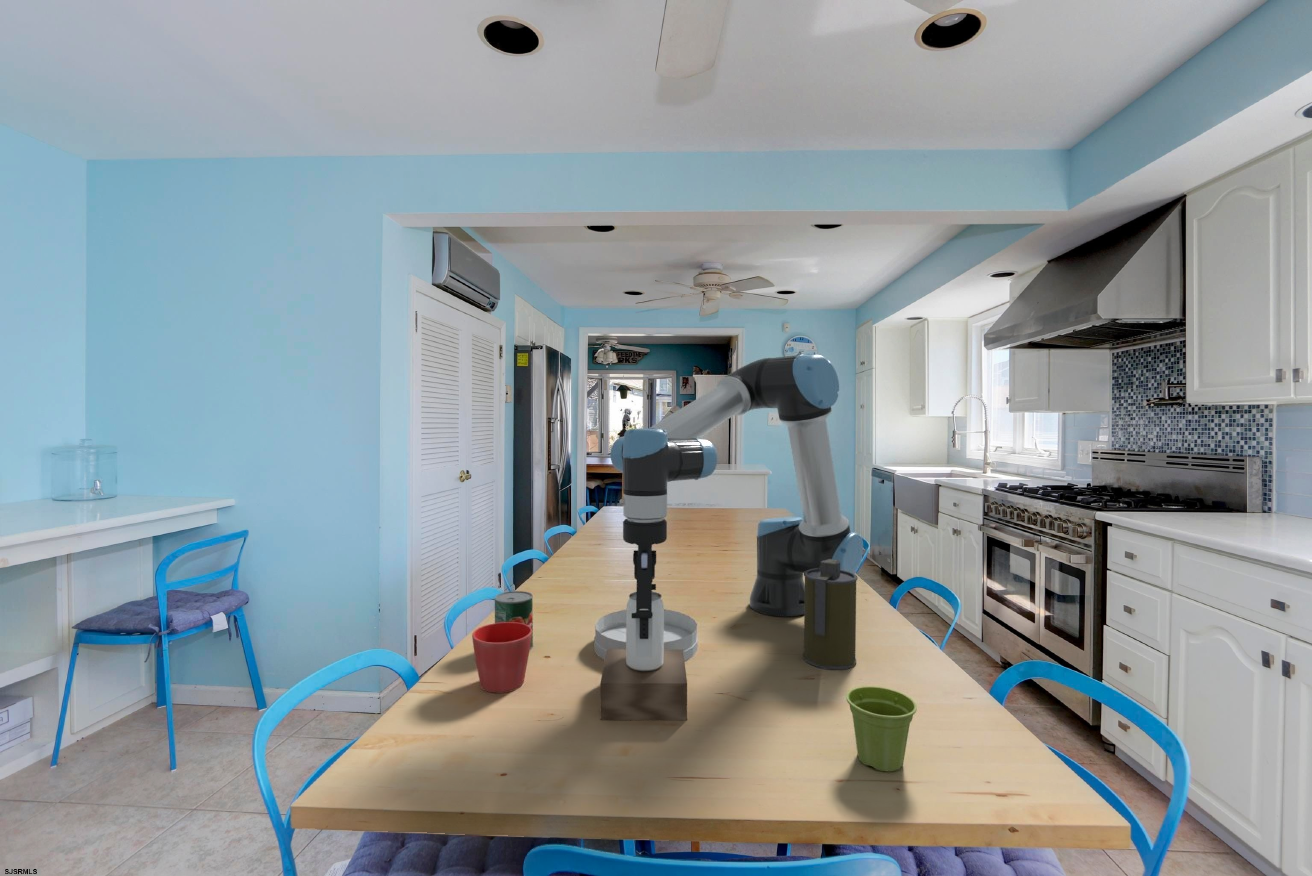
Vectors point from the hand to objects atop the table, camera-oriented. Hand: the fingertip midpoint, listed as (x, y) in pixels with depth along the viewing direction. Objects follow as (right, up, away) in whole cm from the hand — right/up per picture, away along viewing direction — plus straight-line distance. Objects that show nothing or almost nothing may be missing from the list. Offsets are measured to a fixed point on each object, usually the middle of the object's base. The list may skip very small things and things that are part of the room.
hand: (644, 641), depth 102 cm
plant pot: (+34, -11, -18) cm, 40 cm away
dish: (0, -10, +24) cm, 26 cm away
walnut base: (0, -10, 0) cm, 10 cm away
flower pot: (-26, -10, +6) cm, 29 cm away
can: (0, -4, 0) cm, 4 cm away
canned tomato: (-28, -10, +23) cm, 38 cm away
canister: (+37, -10, +17) cm, 42 cm away
